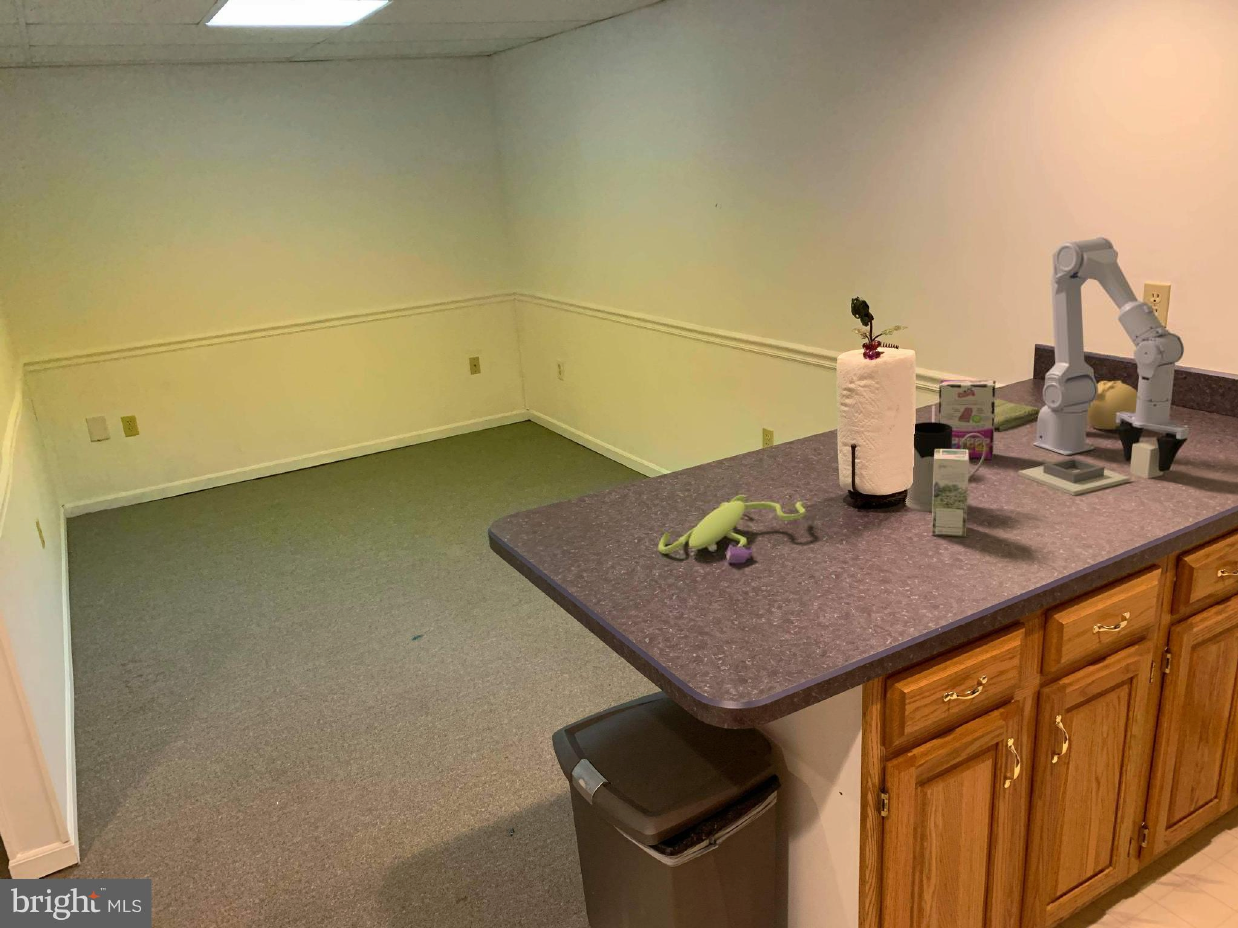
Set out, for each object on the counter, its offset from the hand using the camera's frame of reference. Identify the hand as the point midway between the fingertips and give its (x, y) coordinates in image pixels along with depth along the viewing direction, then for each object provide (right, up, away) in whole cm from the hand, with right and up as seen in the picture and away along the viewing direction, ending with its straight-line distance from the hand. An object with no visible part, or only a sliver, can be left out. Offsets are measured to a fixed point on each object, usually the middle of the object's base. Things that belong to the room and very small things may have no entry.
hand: (1147, 465), depth 183 cm
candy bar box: (-29, +2, +19) cm, 34 cm away
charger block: (0, -2, +1) cm, 2 cm away
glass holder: (-42, -7, -6) cm, 43 cm away
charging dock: (-14, -3, +1) cm, 14 cm away
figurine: (-82, -14, -13) cm, 84 cm away
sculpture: (+8, +8, +30) cm, 32 cm away
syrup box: (-45, -12, -18) cm, 50 cm away
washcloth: (-12, +10, +42) cm, 45 cm away
